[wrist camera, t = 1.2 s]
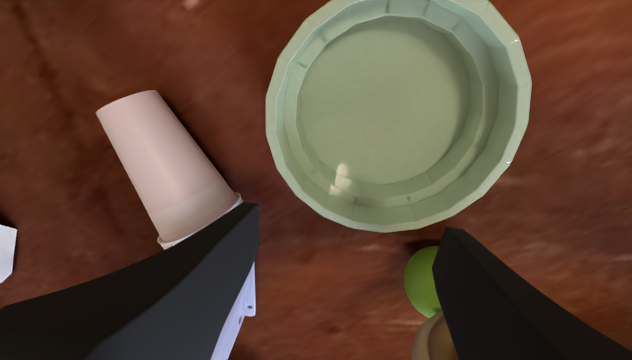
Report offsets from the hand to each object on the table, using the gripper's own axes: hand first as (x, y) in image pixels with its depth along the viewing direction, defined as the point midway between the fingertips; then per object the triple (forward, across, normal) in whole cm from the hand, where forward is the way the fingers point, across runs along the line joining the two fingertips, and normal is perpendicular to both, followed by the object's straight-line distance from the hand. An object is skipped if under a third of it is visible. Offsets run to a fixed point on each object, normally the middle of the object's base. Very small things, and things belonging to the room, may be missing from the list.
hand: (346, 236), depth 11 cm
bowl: (+10, -2, -3) cm, 11 cm away
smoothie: (+8, +14, -2) cm, 16 cm away
